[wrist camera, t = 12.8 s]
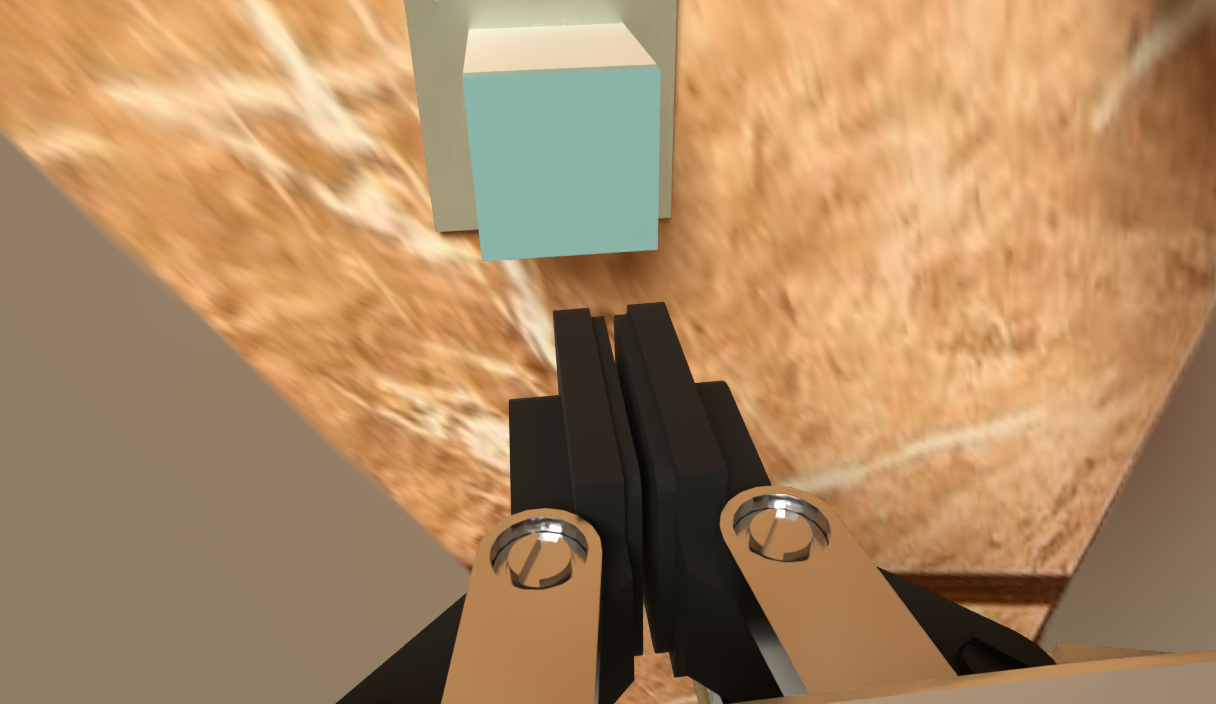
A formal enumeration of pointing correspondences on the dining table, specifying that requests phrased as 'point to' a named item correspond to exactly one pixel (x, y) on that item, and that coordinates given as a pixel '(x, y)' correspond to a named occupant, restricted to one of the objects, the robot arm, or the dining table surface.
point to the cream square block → (438, 34)
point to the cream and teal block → (562, 140)
